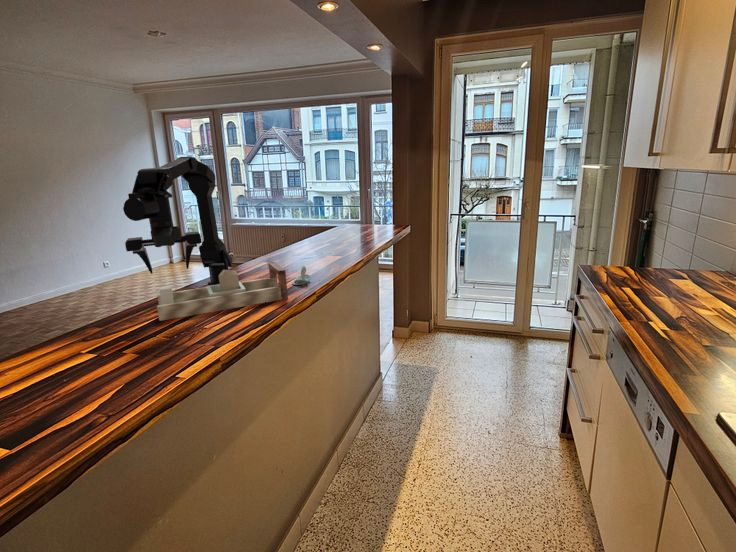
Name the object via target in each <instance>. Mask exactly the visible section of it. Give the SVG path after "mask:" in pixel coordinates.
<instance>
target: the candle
mask: <svg viewBox="0 0 736 552" xmlns="http://www.w3.org/2000/svg"><path fill="white" fill-rule="evenodd" d="M239 281H240V280H239V273H238V272H237V271H235V270H234V269H229V270H223V271H222V272H221V273H220V274H219V282H220V290H221V292H223V291H229V290H235V289H240V287H239Z"/></svg>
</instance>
